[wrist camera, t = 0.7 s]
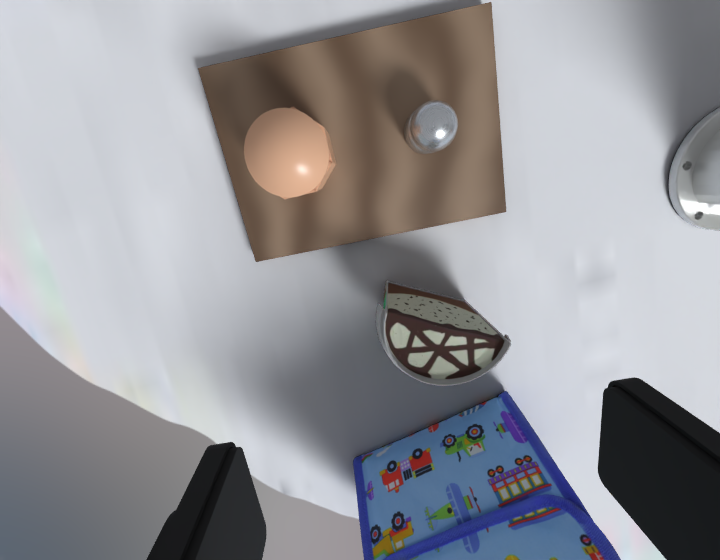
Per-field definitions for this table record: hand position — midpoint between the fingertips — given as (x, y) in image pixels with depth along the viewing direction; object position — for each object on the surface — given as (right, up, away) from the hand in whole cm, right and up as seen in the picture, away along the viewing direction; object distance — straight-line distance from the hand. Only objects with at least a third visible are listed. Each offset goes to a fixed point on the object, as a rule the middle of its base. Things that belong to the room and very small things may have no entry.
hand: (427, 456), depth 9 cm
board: (-2, +18, +25) cm, 31 cm away
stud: (+4, +18, +24) cm, 30 cm away
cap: (-7, +16, +24) cm, 30 cm away
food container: (+5, +1, +31) cm, 31 cm away
